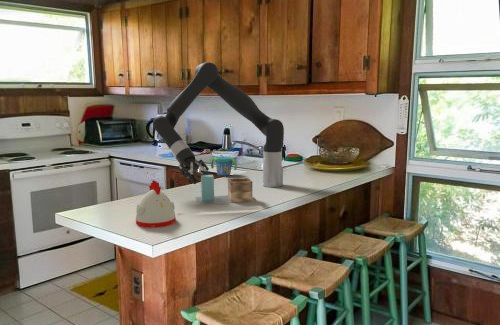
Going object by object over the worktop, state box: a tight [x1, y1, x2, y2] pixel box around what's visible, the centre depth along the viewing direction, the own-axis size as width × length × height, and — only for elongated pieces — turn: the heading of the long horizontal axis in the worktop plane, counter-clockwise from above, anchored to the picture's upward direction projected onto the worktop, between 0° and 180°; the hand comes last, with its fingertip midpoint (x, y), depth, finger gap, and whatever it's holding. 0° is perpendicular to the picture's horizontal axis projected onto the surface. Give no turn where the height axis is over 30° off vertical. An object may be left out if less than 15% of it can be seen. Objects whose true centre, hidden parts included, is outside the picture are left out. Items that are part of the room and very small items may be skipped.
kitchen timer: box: [135, 179, 177, 229], centre depth 154 cm, size 14×14×15 cm
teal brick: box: [200, 174, 215, 201], centre depth 185 cm, size 5×5×10 cm
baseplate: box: [194, 195, 256, 206], centre depth 185 cm, size 24×14×1 cm, turn 101°
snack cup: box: [210, 155, 238, 177], centre depth 248 cm, size 16×10×10 cm
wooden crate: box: [227, 177, 254, 203], centre depth 184 cm, size 9×9×8 cm
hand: (203, 181), depth 186 cm, fingers open, 8 cm apart
